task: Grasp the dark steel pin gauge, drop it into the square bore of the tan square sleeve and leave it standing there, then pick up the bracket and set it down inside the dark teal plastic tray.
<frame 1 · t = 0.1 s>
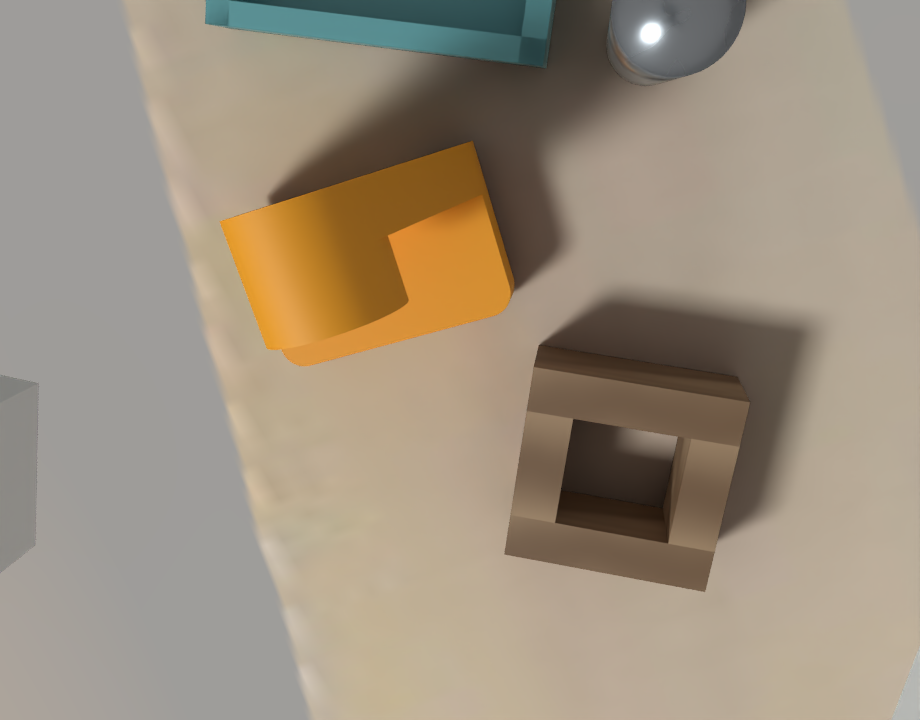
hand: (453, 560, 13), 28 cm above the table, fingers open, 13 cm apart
bracket: (388, 251, 40), on the table
tan square sleeve: (619, 451, 41), on the table
pin: (648, 42, 36), on the table
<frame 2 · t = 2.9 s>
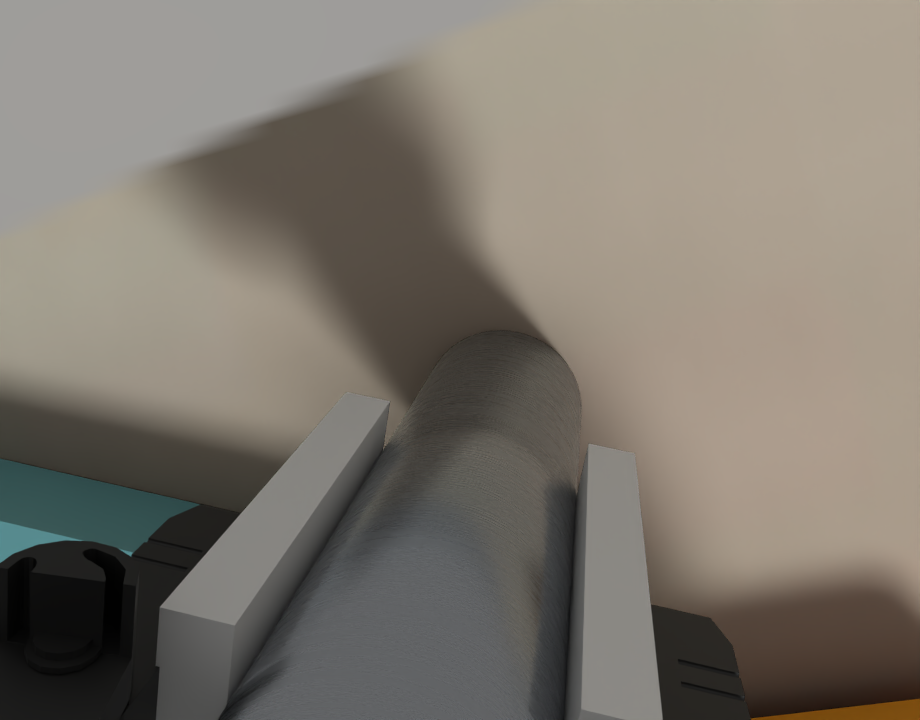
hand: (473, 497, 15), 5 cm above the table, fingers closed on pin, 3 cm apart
pin: (502, 406, 19), on the table, touching gripper
when the fingers open (5 cm above the table, at t = 9.1 s): pin stays where it is, resting in tan square sleeve.
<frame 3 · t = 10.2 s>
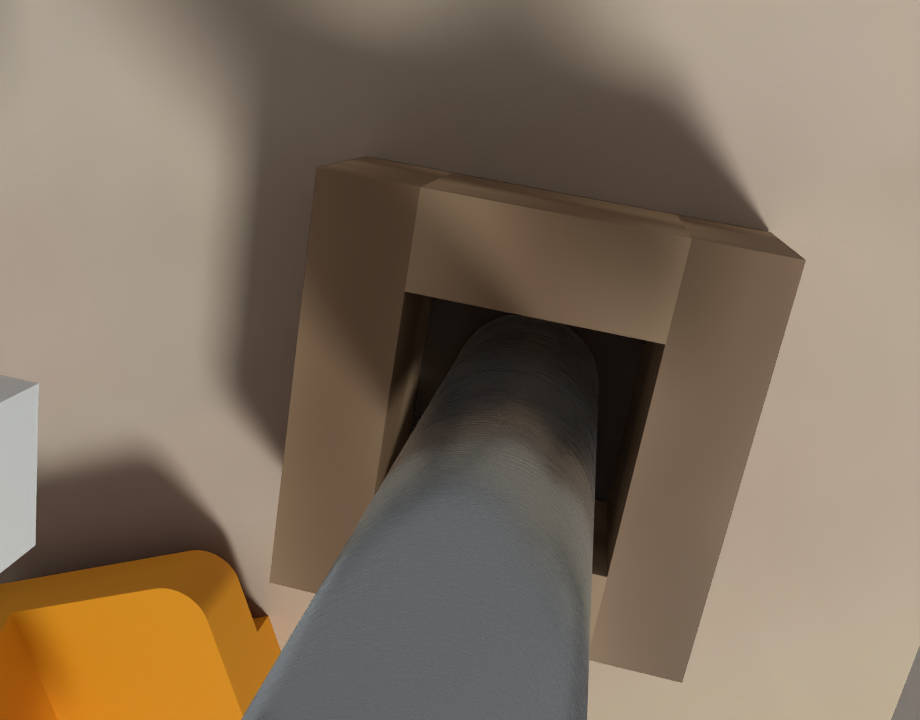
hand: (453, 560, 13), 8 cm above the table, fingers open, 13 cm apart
bracket: (188, 712, 25), on the table
tan square sleeve: (524, 384, 21), on the table
pin: (525, 383, 21), resting in tan square sleeve
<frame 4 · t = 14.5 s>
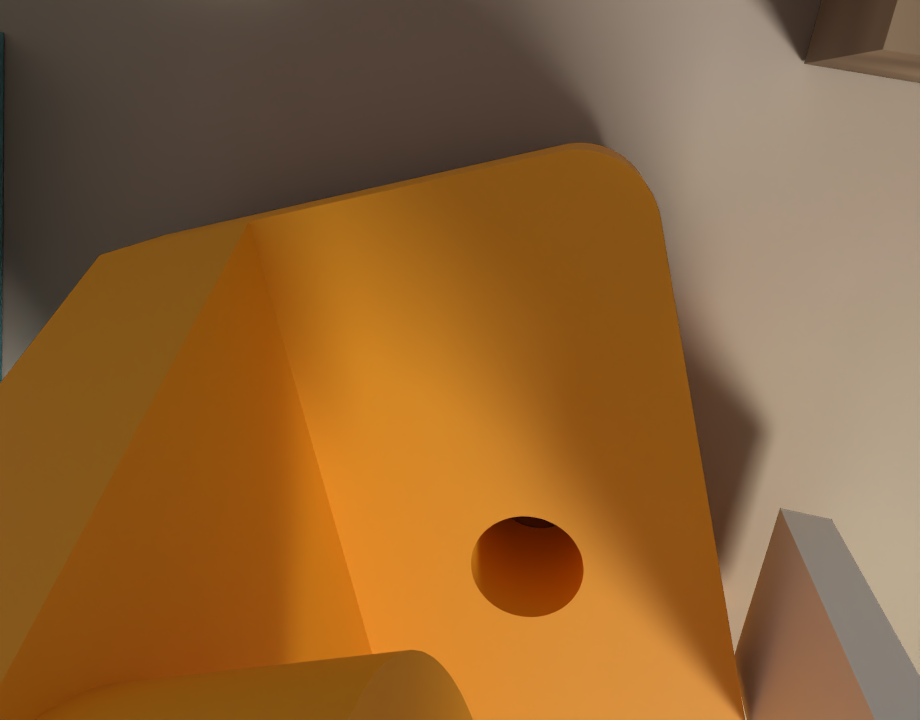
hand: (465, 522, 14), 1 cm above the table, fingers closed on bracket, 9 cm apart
bracket: (477, 490, 15), on the table, touching gripper
when the fingers open (4 cm above the table, at t = 20.5 s): bracket drops 2 cm, resting on tray.
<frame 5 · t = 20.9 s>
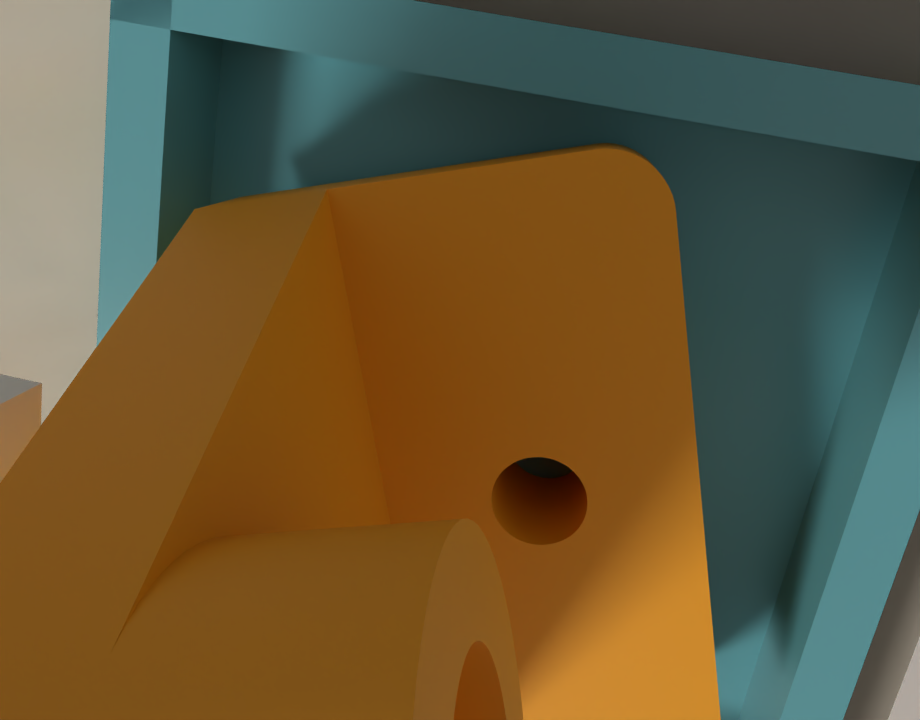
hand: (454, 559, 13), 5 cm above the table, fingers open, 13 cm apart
bracket: (493, 441, 17), resting on tray
tray: (493, 434, 17), on the table
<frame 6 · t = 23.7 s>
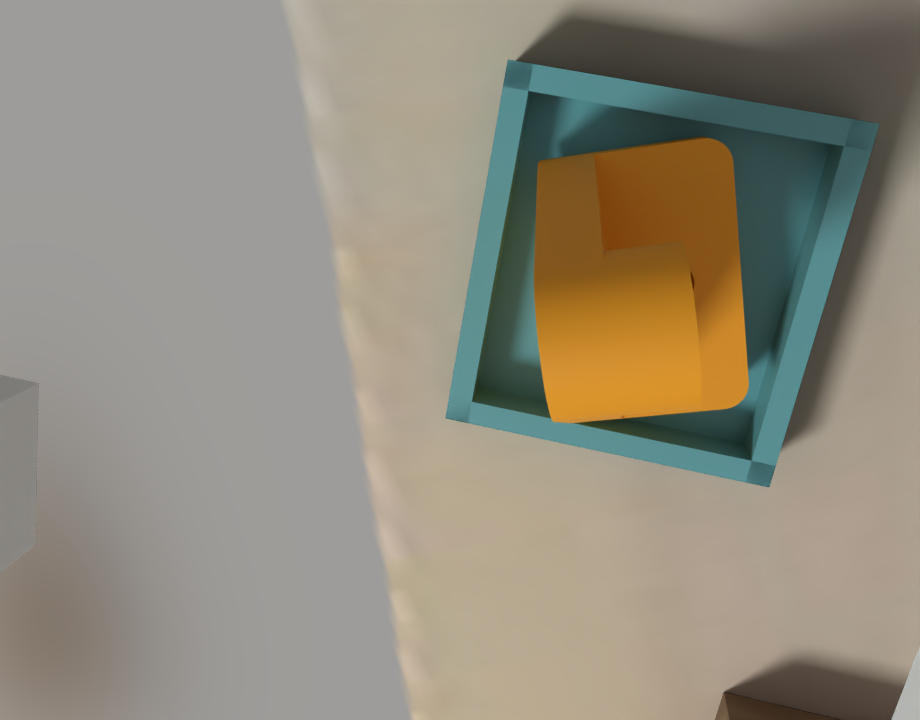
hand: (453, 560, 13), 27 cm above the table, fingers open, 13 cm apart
bracket: (642, 273, 37), resting on tray
tray: (641, 271, 38), on the table
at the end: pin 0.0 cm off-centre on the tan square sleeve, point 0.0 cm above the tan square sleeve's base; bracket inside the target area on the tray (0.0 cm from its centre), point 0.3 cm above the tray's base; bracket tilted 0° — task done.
